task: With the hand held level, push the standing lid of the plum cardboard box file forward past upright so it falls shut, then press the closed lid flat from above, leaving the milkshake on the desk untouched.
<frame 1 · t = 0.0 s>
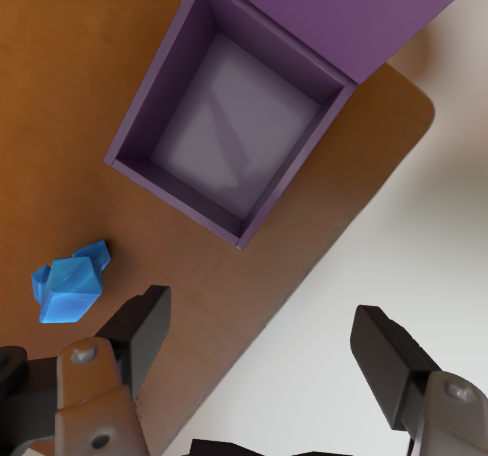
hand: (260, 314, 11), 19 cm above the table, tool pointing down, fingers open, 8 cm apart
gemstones: (95, 264, 32), on the table
box file: (232, 134, 28), on the table
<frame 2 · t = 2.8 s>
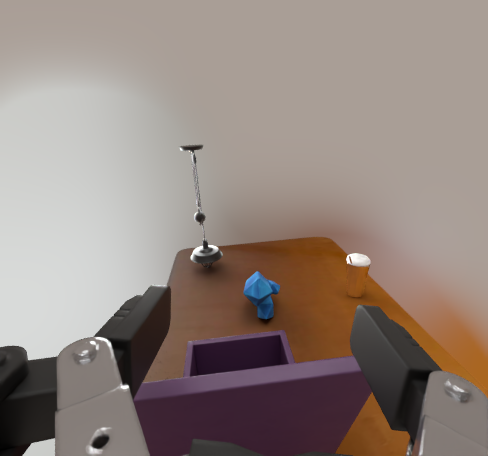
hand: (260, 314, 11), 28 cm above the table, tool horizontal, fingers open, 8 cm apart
light fixture: (207, 266, 72), on the table
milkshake: (353, 294, 56), on the table
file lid: (247, 435, 17), point 16 cm above the table, hinge at 105.1°
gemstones: (263, 311, 53), on the table
box file: (245, 431, 32), on the table
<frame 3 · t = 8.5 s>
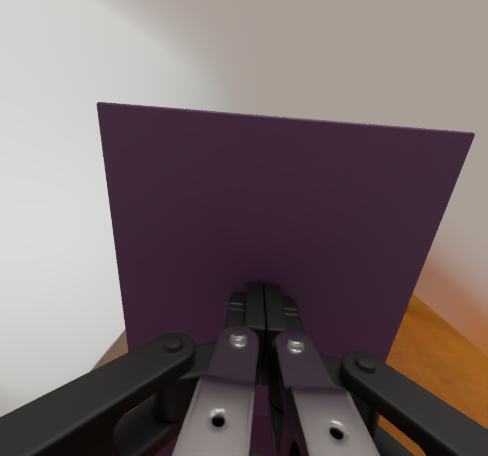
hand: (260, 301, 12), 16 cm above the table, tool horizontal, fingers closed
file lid: (260, 298, 13), point 16 cm above the table, hinge at 98.5°
box file: (242, 402, 26), on the table
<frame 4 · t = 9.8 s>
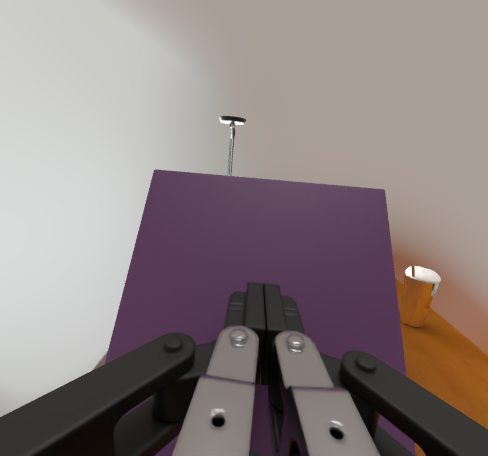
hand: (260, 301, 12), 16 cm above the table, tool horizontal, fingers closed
light fixture: (224, 261, 61), on the table
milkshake: (408, 322, 42), on the table
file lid: (257, 328, 13), point 15 cm above the table, hinge at 54.7°
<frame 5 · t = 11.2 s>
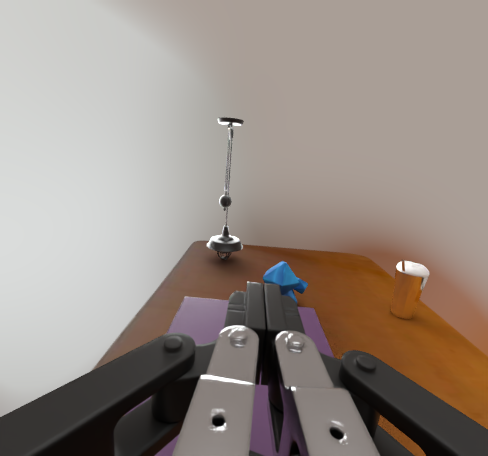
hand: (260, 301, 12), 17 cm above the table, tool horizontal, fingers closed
light fixture: (223, 258, 63), on the table
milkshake: (399, 315, 44), on the table
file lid: (247, 363, 20), point 8 cm above the table, hinge at -0.2°
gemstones: (282, 311, 43), on the table
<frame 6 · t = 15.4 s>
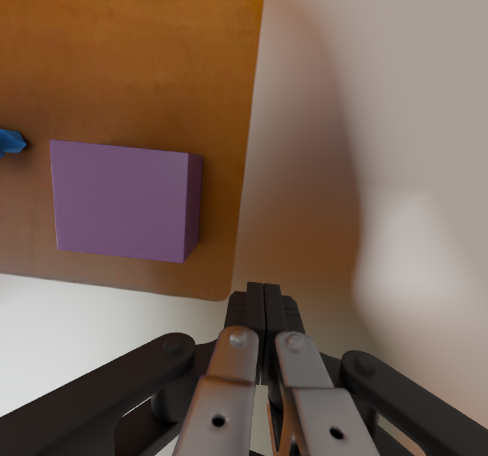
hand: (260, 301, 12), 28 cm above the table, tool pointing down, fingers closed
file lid: (120, 203, 32), point 8 cm above the table, hinge at -0.2°
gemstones: (7, 141, 39), on the table
box file: (150, 196, 40), on the table
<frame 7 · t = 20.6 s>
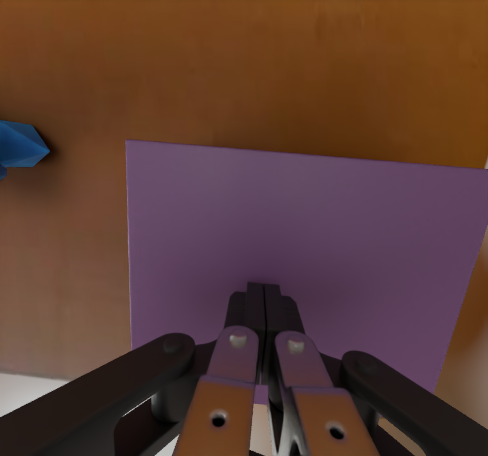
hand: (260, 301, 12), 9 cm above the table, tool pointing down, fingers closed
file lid: (291, 292, 13), point 8 cm above the table, hinge at -0.2°
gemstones: (10, 145, 20), on the table
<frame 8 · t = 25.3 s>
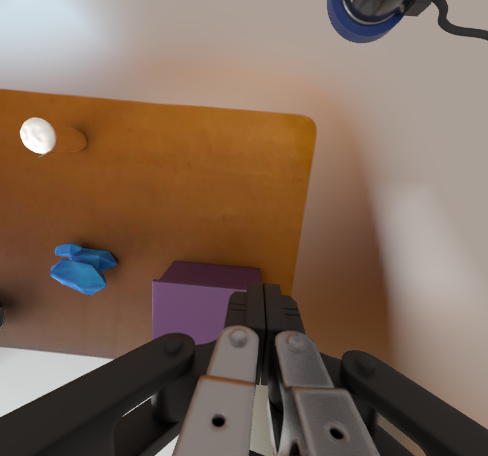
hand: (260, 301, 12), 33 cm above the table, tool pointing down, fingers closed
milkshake: (79, 143, 43), on the table
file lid: (204, 324, 41), point 8 cm above the table, hinge at -0.2°
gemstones: (98, 257, 48), on the table
box file: (214, 298, 49), on the table
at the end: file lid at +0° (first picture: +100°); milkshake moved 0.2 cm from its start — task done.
